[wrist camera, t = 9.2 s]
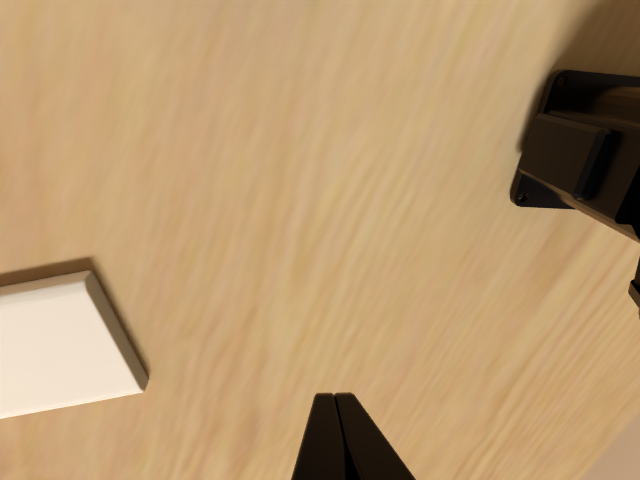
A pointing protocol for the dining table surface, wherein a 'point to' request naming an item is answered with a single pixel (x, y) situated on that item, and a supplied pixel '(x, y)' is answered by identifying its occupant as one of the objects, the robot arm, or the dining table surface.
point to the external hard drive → (62, 346)
